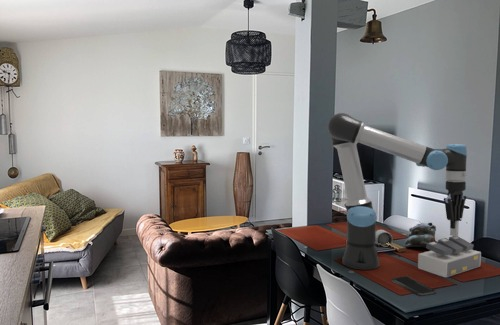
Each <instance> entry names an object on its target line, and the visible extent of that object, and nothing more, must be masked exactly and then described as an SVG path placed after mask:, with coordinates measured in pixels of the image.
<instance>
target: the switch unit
mask: <svg viewBox="0 0 500 325" xmlns="http://www.w3.org/2000/svg"><path fill="white" fill-rule="evenodd" d="M417 255H418V257H417V269H419V270H422V271H425V272H427V273H430V274H434V275H437V276H439V277H443V278H449V277H452V276H455V275H457V274H458V275H459V274H461V273H464V272H467V271H470V270H474V269H477V268H479V267H481V261H482V260H481V259H482V252H481V251H478V250H474V249H471V250H468V251H464V250H463V251H462V252H461V253H457V254H454V253H452V254H451V255H447V256H442V255H440V254H438V253H436V252H433V251H431V250H428V251H424V252H421V253H418V254H417Z"/></svg>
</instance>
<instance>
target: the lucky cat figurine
mask: <svg viewBox="0 0 500 325" xmlns="http://www.w3.org/2000/svg"><path fill="white" fill-rule="evenodd" d="M408 231H409V232H408V238H406V240H405V241H404V243H405V244H404V245H405V247H406V248H425V249H427V248H426V245H427V243H430V242H436V243H437V241H436V231H437V227H436V225H434V224H433V223H432V222H428V223H425V222H424V223H423V222H420V223H417V224H415V225H414V226H413V227H410V228H409V230H408Z"/></svg>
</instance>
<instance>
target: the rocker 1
mask: <svg viewBox="0 0 500 325" xmlns="http://www.w3.org/2000/svg"><path fill="white" fill-rule="evenodd" d="M425 249H427V250H428V251H433V252H436V253H438V254H440V255H442V256H447V255H451V254H452V249H450V248H448V247H446V246H443V245H441V244H439V243H438V242H437V241H436V242H430V243H427V245H426V248H425Z"/></svg>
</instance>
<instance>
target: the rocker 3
mask: <svg viewBox="0 0 500 325" xmlns="http://www.w3.org/2000/svg"><path fill="white" fill-rule="evenodd" d="M448 240H450V241H452V242H454V243H456V244H458V245H459V246H461V247H463V250H464V251H468V250H474V247H475V246H474V245H475V244H473V243H471V242H469V241H467V240H465V239H463V238H461V237H460V236H459V235H458V236H457V237H455V236H449V237H448Z"/></svg>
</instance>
